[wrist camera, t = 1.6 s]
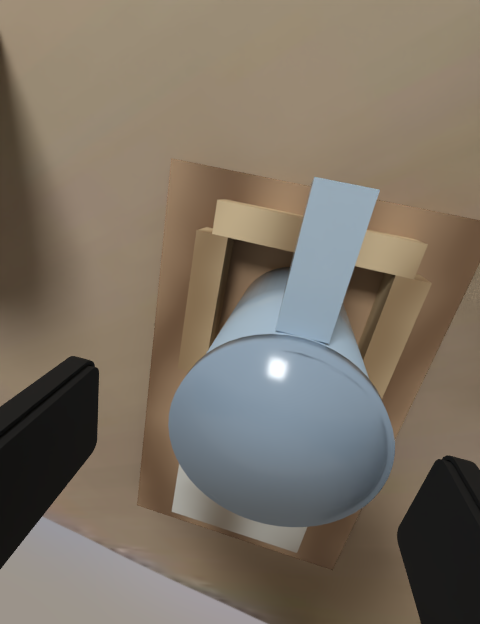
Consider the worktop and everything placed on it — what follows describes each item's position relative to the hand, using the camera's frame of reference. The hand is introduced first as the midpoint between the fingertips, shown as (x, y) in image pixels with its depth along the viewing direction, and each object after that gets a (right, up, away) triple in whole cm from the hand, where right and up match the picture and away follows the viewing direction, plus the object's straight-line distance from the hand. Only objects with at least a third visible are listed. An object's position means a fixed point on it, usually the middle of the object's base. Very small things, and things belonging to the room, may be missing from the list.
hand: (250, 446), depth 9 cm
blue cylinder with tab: (+3, +5, +9) cm, 11 cm away
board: (+2, -2, +13) cm, 13 cm away
